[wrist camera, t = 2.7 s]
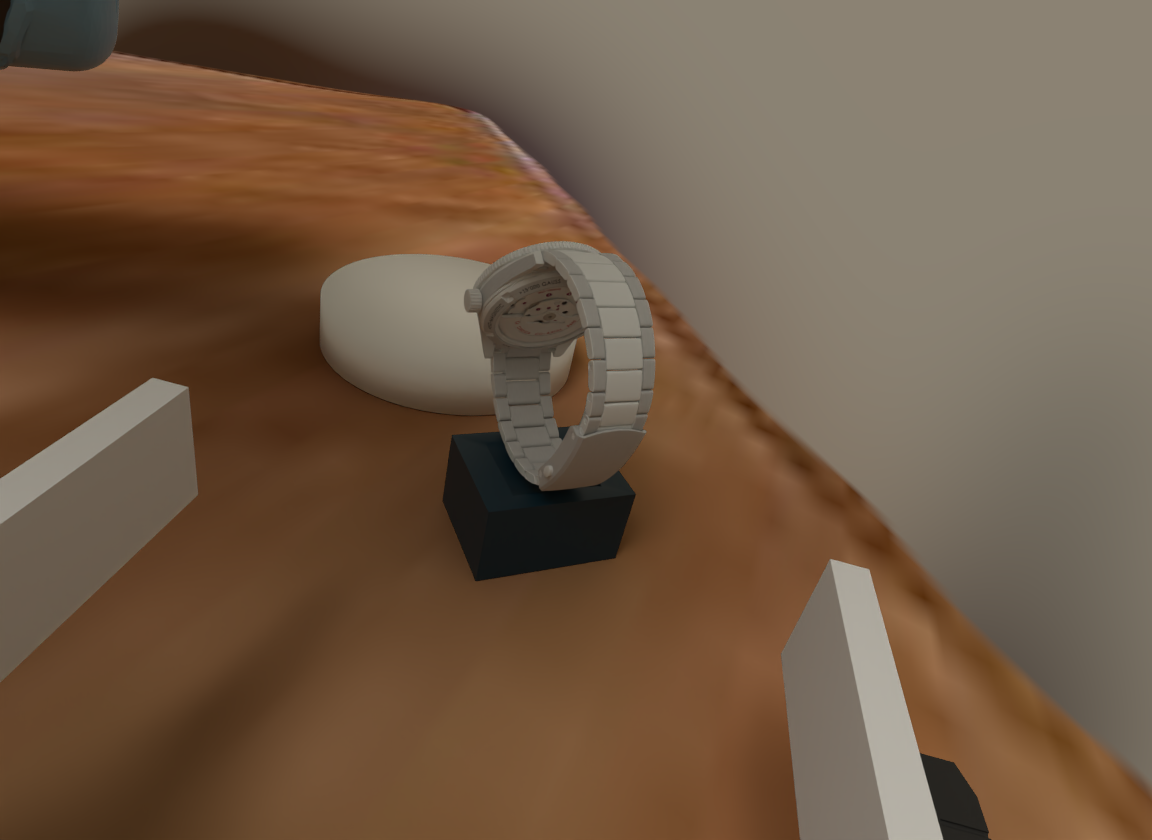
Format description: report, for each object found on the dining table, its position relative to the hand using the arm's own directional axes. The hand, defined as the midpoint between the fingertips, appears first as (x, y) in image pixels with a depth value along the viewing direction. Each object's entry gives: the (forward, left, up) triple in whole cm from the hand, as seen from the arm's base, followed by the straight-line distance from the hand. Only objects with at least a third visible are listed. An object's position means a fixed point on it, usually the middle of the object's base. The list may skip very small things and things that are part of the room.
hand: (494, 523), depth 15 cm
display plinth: (-13, +20, -9) cm, 25 cm away
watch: (-3, +10, -9) cm, 13 cm away
